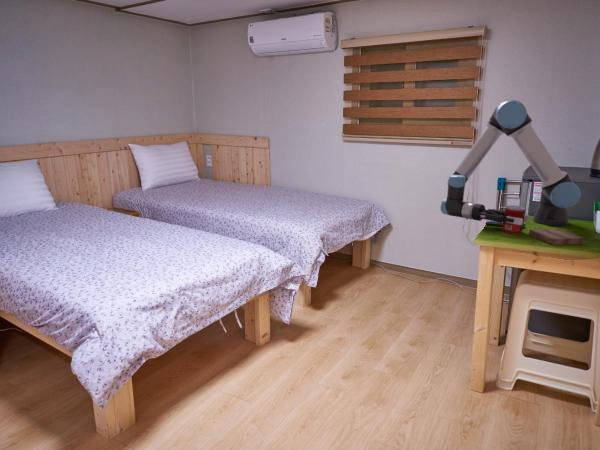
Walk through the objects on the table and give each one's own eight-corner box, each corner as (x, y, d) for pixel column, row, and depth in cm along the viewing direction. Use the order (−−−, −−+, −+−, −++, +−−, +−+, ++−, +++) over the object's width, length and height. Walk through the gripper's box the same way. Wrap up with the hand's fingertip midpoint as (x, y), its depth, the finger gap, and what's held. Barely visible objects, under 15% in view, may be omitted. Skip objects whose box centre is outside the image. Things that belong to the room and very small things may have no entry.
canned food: (524, 234, 198) (527, 209, 195) (504, 233, 199) (507, 208, 196) (519, 230, 205) (523, 206, 202) (500, 228, 206) (503, 205, 204)
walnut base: (557, 234, 199) (558, 228, 198) (582, 243, 186) (583, 237, 185) (528, 235, 196) (529, 230, 195) (552, 245, 183) (553, 239, 182)
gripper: (482, 215, 221) (532, 224, 205) (463, 223, 206) (515, 233, 191) (483, 200, 219) (534, 208, 204) (465, 206, 204) (518, 215, 189)
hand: (525, 220), depth 197 cm, fingers closed on canned food, 8 cm apart
